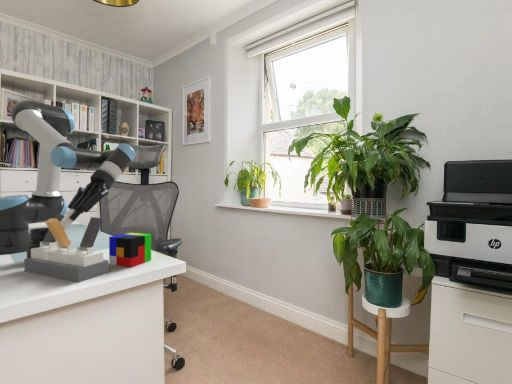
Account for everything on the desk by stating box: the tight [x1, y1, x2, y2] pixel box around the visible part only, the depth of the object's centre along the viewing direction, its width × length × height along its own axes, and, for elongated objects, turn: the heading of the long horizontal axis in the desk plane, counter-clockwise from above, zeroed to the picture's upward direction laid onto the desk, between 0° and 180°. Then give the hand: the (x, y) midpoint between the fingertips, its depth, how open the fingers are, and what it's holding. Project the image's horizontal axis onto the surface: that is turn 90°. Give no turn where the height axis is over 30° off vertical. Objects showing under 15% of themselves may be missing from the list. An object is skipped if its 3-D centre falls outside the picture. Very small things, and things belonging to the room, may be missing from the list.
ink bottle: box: [25, 227, 58, 259], centre depth 104 cm, size 10×9×12 cm
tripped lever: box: [44, 218, 72, 249], centre depth 90 cm, size 2×3×11 cm, turn 68°
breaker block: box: [23, 215, 109, 283], centre depth 92 cm, size 10×26×18 cm, turn 68°
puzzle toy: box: [108, 232, 152, 268], centre depth 104 cm, size 10×10×10 cm
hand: (62, 227), depth 90 cm, fingers closed
